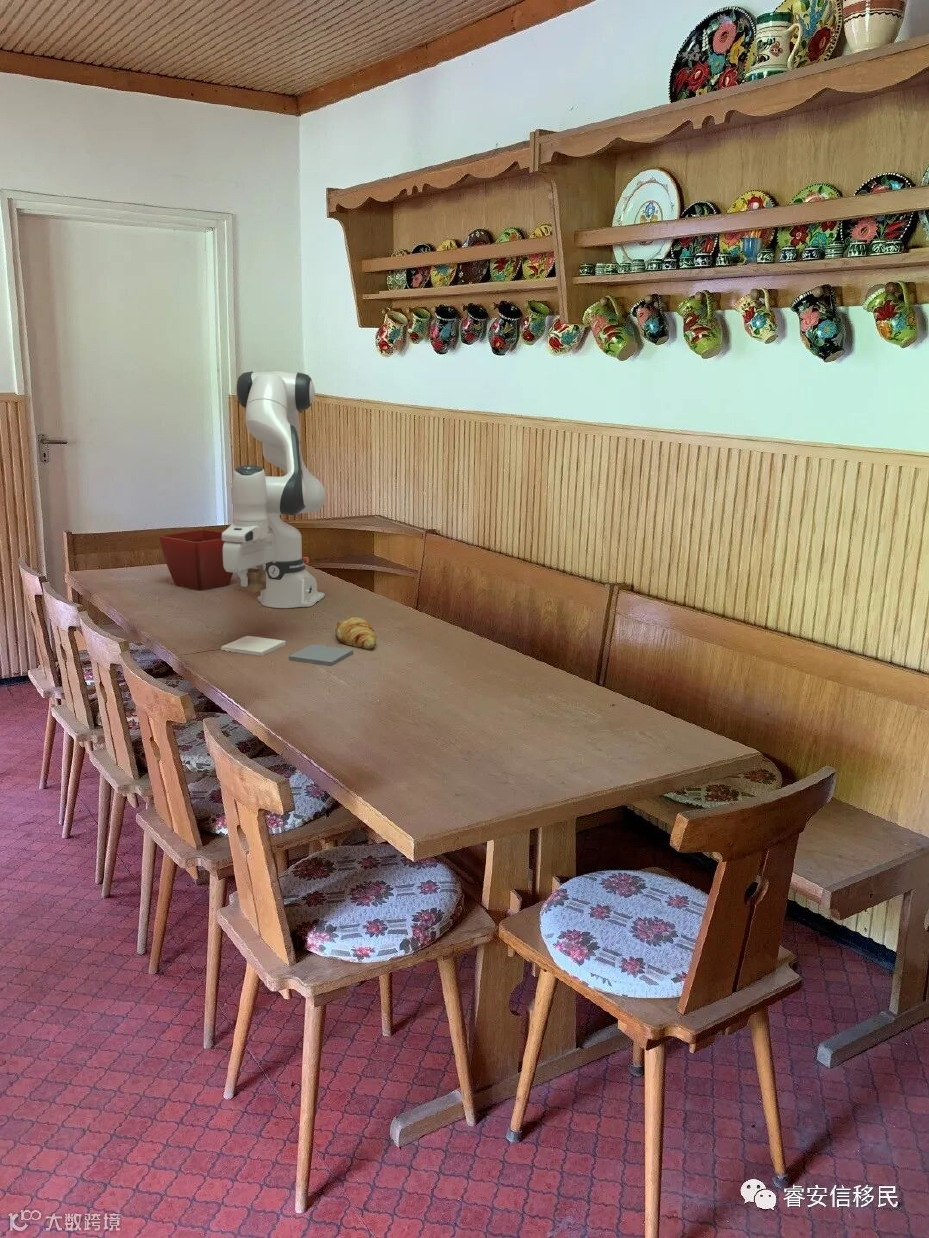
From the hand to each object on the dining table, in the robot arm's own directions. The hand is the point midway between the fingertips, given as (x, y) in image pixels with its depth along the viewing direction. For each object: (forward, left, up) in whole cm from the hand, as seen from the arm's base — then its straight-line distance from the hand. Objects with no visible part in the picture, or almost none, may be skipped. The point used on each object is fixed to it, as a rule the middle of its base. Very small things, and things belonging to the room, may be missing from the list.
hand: (252, 583), depth 260 cm
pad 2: (0, +20, -17) cm, 26 cm away
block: (0, 0, -2) cm, 2 cm away
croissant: (-17, +21, -18) cm, 32 cm away
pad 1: (0, 0, -17) cm, 17 cm away
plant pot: (-56, -55, -17) cm, 80 cm away
